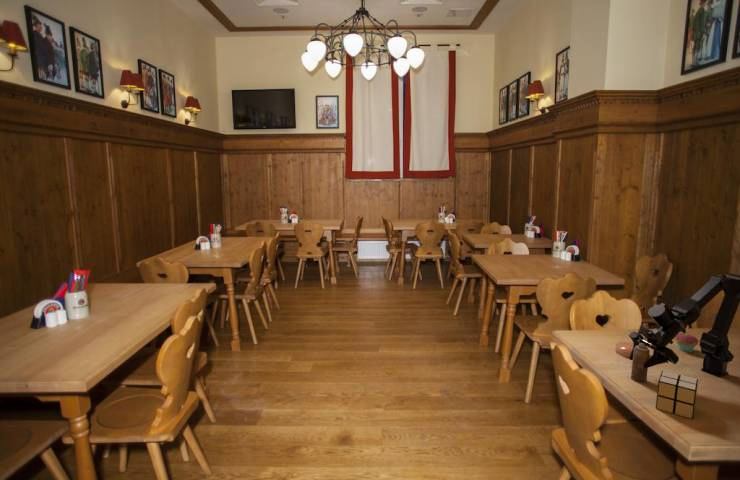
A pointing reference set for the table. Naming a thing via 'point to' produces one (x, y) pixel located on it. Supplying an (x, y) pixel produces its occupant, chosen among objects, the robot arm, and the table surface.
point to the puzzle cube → (676, 394)
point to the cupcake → (686, 341)
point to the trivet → (624, 349)
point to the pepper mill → (640, 363)
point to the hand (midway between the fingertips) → (636, 363)
